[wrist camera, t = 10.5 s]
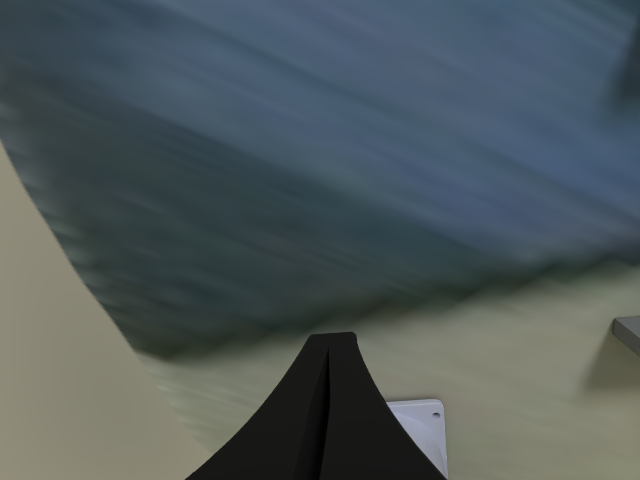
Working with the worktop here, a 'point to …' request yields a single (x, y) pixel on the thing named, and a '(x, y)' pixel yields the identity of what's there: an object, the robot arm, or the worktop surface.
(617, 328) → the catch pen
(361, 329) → the worktop surface
